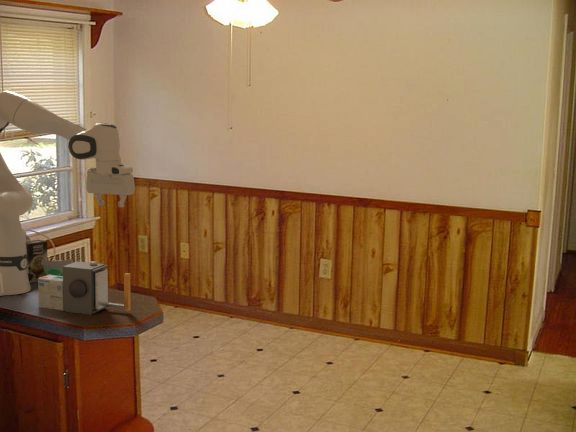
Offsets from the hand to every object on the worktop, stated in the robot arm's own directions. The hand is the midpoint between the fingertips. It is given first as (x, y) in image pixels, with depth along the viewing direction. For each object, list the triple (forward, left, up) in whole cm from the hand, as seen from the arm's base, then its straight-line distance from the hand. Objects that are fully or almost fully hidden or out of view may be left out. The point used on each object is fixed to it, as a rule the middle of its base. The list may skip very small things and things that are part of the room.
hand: (111, 206), depth 272 cm
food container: (-31, +12, -35) cm, 49 cm away
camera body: (-2, -16, -35) cm, 39 cm away
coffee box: (-43, +14, -35) cm, 58 cm away
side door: (+9, -15, -34) cm, 38 cm away
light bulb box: (-13, -15, -35) cm, 41 cm away
